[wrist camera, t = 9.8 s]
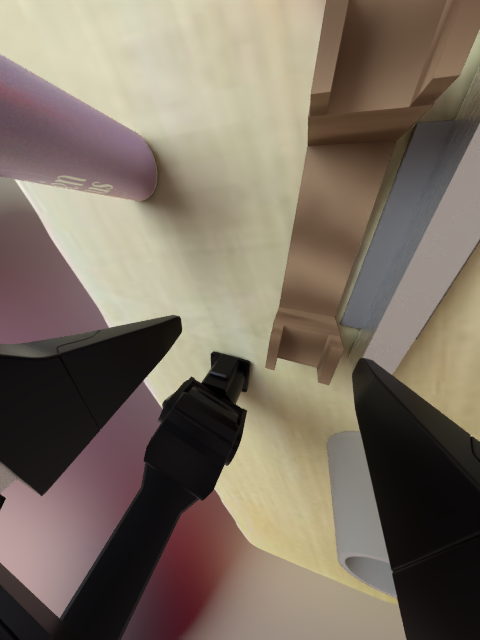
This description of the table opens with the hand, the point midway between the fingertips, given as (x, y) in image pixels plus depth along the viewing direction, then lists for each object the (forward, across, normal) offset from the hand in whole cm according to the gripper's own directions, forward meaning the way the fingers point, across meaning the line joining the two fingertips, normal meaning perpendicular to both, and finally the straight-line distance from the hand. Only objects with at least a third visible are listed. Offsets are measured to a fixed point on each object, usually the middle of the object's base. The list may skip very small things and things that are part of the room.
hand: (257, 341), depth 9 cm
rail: (+13, -10, -4) cm, 17 cm away
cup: (+13, -16, +25) cm, 32 cm away
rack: (+13, -3, -4) cm, 14 cm away
